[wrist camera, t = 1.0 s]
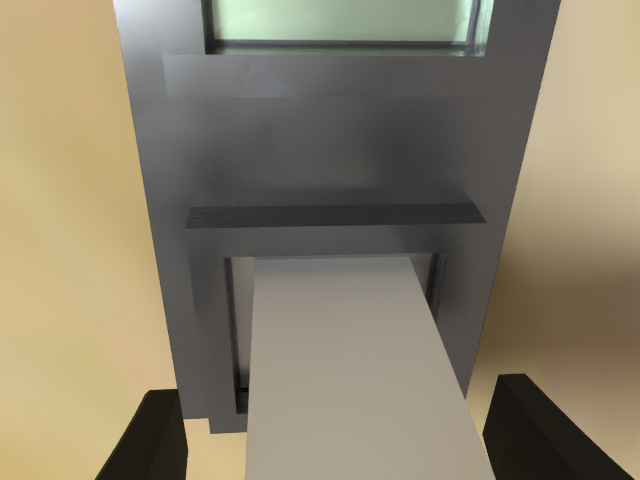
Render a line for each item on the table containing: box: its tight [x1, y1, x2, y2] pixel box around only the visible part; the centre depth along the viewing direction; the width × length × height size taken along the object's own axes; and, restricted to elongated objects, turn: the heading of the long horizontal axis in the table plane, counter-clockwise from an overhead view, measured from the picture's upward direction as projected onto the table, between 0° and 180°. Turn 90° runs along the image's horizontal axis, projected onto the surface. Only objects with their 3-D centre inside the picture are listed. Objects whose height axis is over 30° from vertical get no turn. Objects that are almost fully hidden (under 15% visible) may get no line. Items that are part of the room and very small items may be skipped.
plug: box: [245, 257, 496, 480], centre depth 12 cm, size 4×4×7 cm
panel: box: [113, 0, 561, 434], centre depth 12 cm, size 9×18×2 cm, turn 179°
